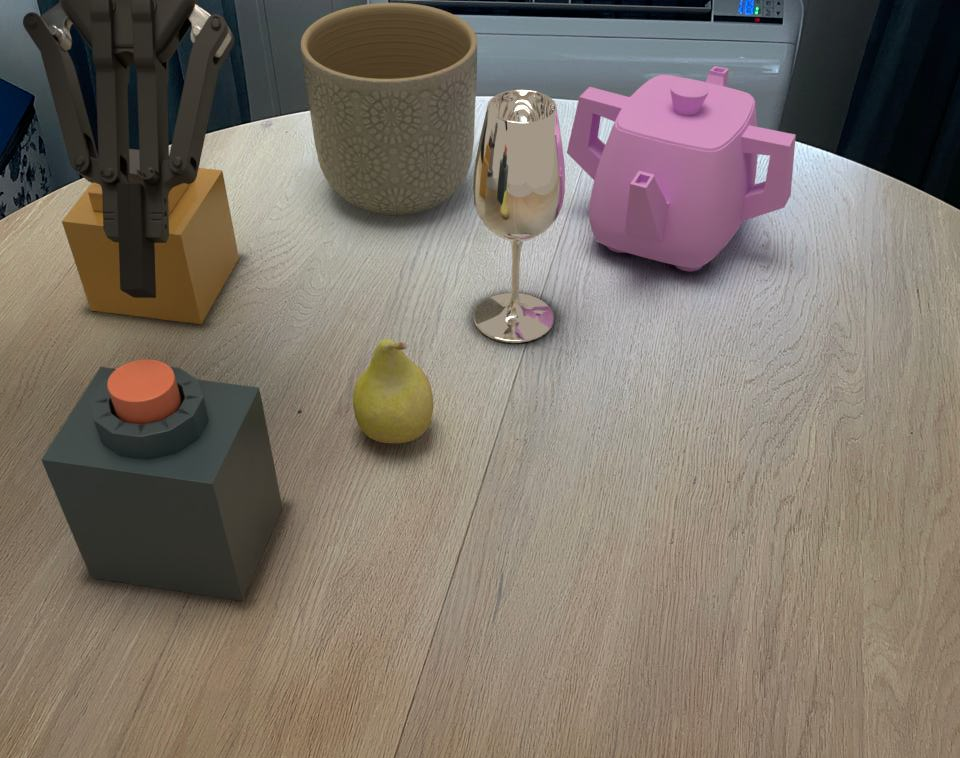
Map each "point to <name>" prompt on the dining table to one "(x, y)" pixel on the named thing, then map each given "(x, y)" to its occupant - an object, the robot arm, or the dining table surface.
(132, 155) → the button
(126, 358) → the dining table surface
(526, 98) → the wineglass
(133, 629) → the dining table surface
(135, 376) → the red button
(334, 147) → the planter
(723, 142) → the teapot
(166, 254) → the push-button base
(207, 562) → the button box
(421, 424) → the fruit
